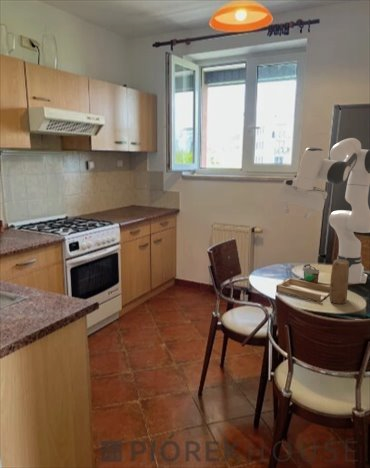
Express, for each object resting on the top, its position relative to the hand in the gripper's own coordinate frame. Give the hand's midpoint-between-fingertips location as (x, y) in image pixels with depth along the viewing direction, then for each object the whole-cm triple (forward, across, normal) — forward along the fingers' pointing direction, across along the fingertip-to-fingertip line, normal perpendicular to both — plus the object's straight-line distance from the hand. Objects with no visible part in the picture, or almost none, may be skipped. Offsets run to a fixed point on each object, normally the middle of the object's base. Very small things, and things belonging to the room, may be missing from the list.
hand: (296, 215), depth 157 cm
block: (+36, -24, -22) cm, 49 cm away
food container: (+38, -5, -38) cm, 54 cm away
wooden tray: (+39, -7, -24) cm, 47 cm away
